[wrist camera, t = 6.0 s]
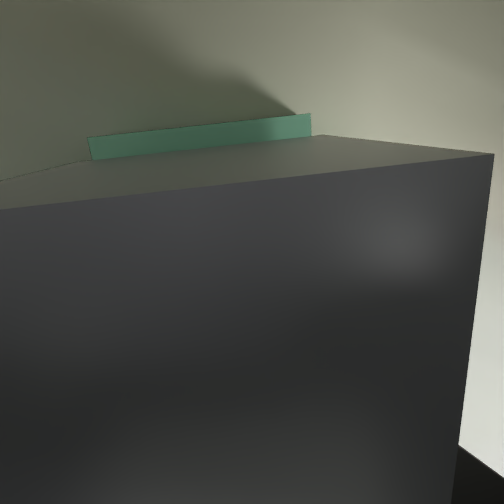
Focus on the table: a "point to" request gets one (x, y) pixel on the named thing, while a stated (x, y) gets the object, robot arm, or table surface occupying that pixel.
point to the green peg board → (199, 136)
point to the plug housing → (240, 324)
